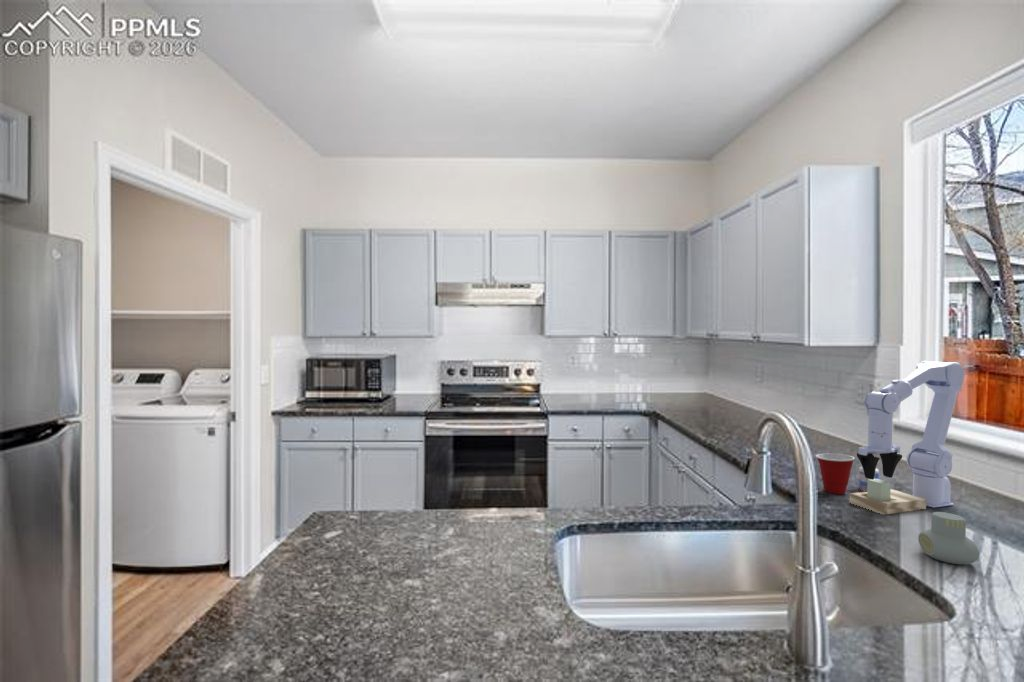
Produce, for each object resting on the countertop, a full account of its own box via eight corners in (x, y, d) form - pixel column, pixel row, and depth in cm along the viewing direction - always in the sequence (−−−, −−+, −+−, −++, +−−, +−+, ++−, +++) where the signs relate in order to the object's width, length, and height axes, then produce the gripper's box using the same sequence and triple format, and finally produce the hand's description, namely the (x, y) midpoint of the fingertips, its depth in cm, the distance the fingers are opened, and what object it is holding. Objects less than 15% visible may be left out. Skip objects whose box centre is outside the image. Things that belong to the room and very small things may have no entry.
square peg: (876, 504, 150) (877, 478, 150) (890, 509, 147) (890, 482, 147) (866, 506, 149) (867, 479, 149) (880, 510, 145) (881, 483, 145)
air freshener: (984, 573, 107) (985, 527, 107) (938, 566, 109) (939, 522, 109) (955, 552, 117) (957, 510, 117) (914, 547, 120) (915, 506, 120)
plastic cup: (815, 484, 170) (816, 449, 170) (854, 491, 164) (855, 454, 164) (813, 492, 161) (814, 455, 161) (853, 499, 155) (854, 461, 155)
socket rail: (891, 498, 157) (891, 489, 157) (926, 509, 147) (926, 499, 147) (849, 503, 151) (849, 493, 151) (882, 514, 142) (883, 504, 142)
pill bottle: (872, 488, 167) (873, 459, 167) (882, 493, 162) (883, 463, 162) (854, 487, 168) (855, 459, 168) (864, 492, 162) (865, 463, 162)
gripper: (876, 436, 142) (874, 483, 142) (911, 434, 146) (910, 479, 146) (852, 431, 148) (851, 476, 149) (886, 429, 153) (885, 473, 153)
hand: (878, 477), depth 148 cm, fingers open, 7 cm apart
